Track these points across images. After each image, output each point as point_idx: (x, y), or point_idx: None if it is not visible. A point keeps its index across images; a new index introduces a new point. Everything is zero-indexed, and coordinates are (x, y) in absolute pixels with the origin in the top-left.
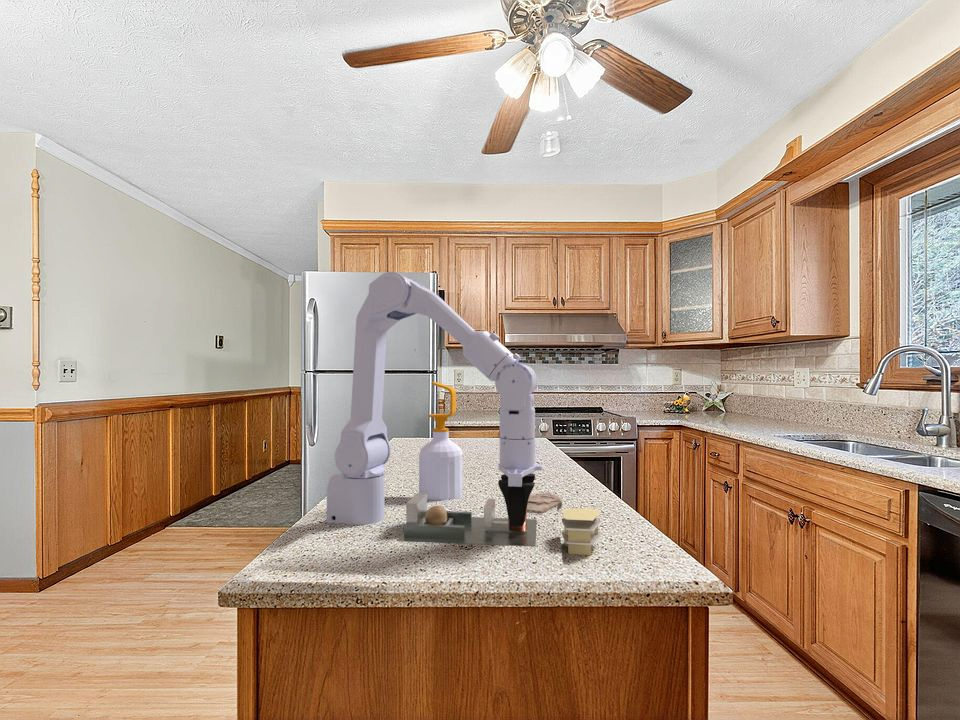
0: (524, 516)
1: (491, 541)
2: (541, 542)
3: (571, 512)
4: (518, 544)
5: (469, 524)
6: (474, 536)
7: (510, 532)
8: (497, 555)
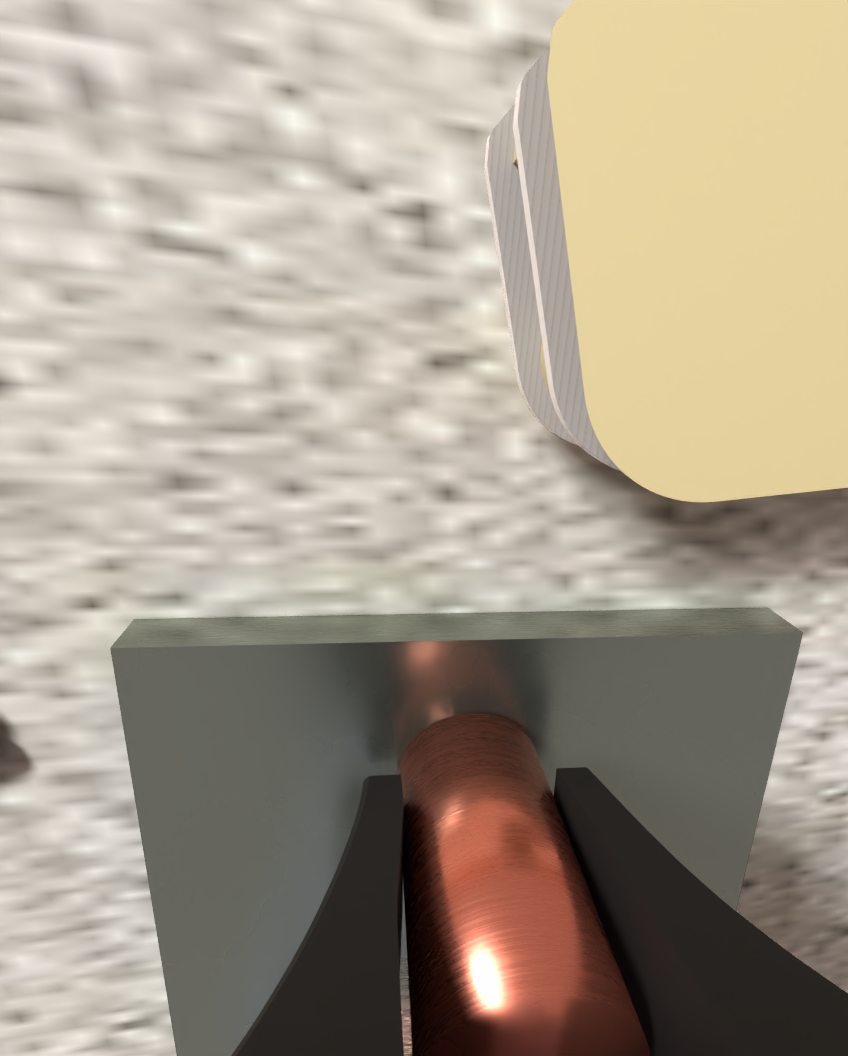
0: (638, 821)
1: None
2: (528, 576)
3: (767, 377)
4: (759, 735)
5: None
6: None
7: None
8: None
